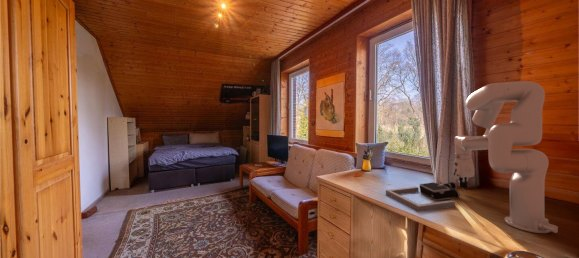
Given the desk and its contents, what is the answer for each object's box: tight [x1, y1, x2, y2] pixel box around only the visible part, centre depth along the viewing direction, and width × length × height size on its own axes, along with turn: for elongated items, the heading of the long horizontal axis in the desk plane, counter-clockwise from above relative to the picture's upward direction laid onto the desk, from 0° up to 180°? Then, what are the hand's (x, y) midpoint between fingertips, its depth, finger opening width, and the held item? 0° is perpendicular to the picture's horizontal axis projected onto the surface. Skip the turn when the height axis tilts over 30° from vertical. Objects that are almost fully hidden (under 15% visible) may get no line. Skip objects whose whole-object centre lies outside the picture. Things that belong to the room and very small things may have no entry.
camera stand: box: [385, 186, 456, 212], centre depth 119 cm, size 26×21×2 cm
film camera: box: [419, 181, 461, 202], centre depth 123 cm, size 8×16×15 cm
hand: (463, 187), depth 124 cm, fingers closed
